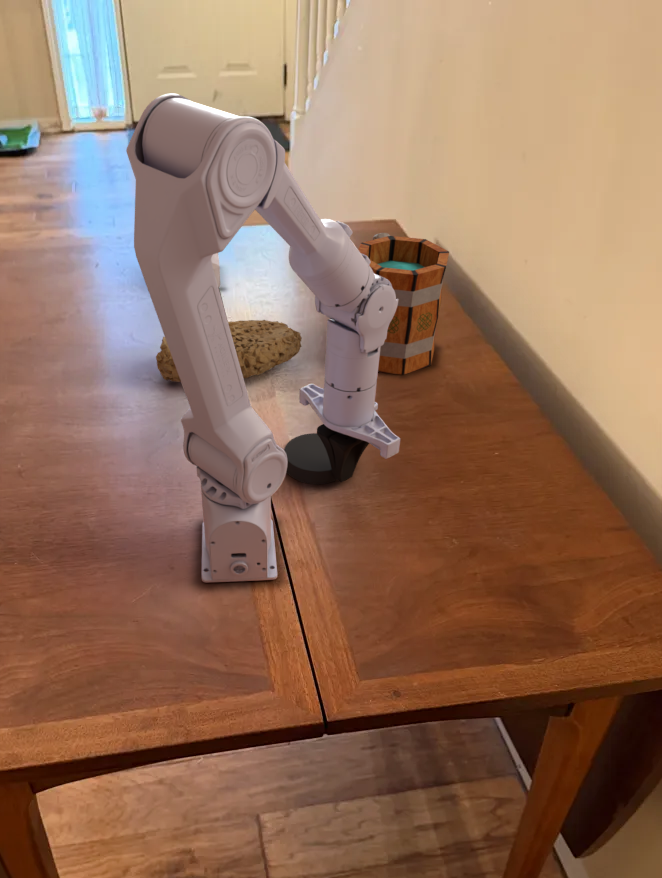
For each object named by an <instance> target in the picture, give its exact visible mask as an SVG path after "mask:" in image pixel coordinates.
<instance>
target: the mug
mask: <svg viewBox="0 0 662 878" xmlns="http://www.w3.org/2000/svg"><path fill="white" fill-rule="evenodd" d="M357 249H358V250H359V252H360V253H361V254H364V255H366V256H367V257H368V258H369V259H370V261H371V263H370V265H369V266H370V267H371V269H372V270H373V273H374V274H376V275H379V276H381V277H384V278H386V279H388V280H389V281H390V283H391V285H392V288H393V289H394V291H395V295H396V299H398V305H397V309H396V312H395V314H394V316H393V318H392V320H391V322H390V324H389V327H388V330H387V338H386V339H385V341H384V344H383V345H382V346H381V347H380V357H379V366H378V372H379V373H387V374H393V375H401V376H404V375H407V374H410V373H413V372H416V371H419V370H421V369H425V368H428V367H431V366H432V363H433V358H434V352H435V340H436V339H435V337H436V336H435V335H436V329H437V324H438V320H439V316H440V311H441V304H442V298H443V297H442V296H443V282H444V276H445V272H446V269H447V265H448V260H449V255H450V251H449V250H447V249H445V248H443V247H442V246H439V245H438V244H436V243H434V242H432V241H430V240H428V239H426V238H417V237H407V236H397V235H390V234H389V233H388V232H380V233H376V234H374V235H373V237H372V239H371V240H367V241H363V242H360V244H359V247H358V248H357Z"/></svg>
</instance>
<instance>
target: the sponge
mask: <svg viewBox="0 0 662 878" xmlns="http://www.w3.org/2000/svg"><path fill="white" fill-rule="evenodd" d="M228 324H229V328H230V332H231V335H232V339H233V342H234V346H235V350H236V353H237V357H238V361H239V364H240V368H241V372H242V375H243V379H249V378H250V377H252V376H259V375H262V374H264V373H265V372H267V371H270V370H272V369H274V368H275V367H276V366H279V365H281V364H283V363H287V362H289V361H291V359H293V358H294V357H295V356H296V355H297V354H299V352H300V350H301V348H302V347H303V346H302V339H303V337H302V336H301V332H299V331H296V330H295V329H293V328H291V327H289V326H288V324H286V323H284V322H282V321H281V322H279V321H277V320H276V321H273V320H272V321H271V320H266V319H262V320H260V319H259V320H258V319H256V320H255V319H251V320H237V321H236V320H235V321H232V320H231V321H228ZM159 349H160V351H159V352H157V354H156V356H155V359H156V368H157V370H158V371H159V373H160V375H161V377H162V378H163V379H164V380H165V381H170V382H176V383H177V382H178V383H181V380H180V377H179V375H178V372H177V369H176V366H175V364H174V361H173V358H172V355H171V352H170V350H169V347H168V344H167V341H166V338H165V336H162V339H161V344H160V346H159Z"/></svg>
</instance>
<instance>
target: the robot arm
mask: <svg viewBox="0 0 662 878" xmlns="http://www.w3.org/2000/svg"><path fill="white" fill-rule="evenodd" d="M125 151H126V155H127V158H128V161H129V164H130V167H131V170H132V173H133V176H134V179H135V189H134V190H135V194H134V195H135V196H134V197H135V198H134V227H133V248H134V253H135V258H136V260H137V262H138V266H139V268H140V269H139V270H140V271H141V274H142V277H143V280H144V283H145V285H146V288H147V291H148V294H149V296H150V297H149V298H150V299H151V302H152V305H153V308H154V311H155V313H156V316H157V319H158V322H159V324H160V327H161V331H162V333H163V337H165V338H166V341H167V344H168V347H169V350H170V352H171V355H172V358H173V361H174V364H175V366H176V369H177V372H178V375H179V377H180V380H181V382H180V383H181V386H182V389H183V391H184V394H185V397H186V400H187V403H188V405H189V408H188V409H187V410H186V411H185V413H184V414H183V416H182V417H181V419H180V423H181V425H182V429H183V434H184V435H183V442H182V450H183V454H184V457H185V458H186V461H188V462H189V463H190V464H191V465H194V466H196V467H195V468H196V477H198V478H199V481H200V490H201V491H200V493H201V503H202V504H201V505H202V516H203V517H202V518H203V522H202V523H201V582H203V583H226V582H228V583H229V582H231V583H232V582H251V581H252V582H253V581H273V580H276V579H278V565H277V564H278V563H277V554H276V543H275V541H276V540H275V533H274V521H273V519H272V496H273V495H274V494H275V493H276V492H277V491H278V490H279V488H280V487H281V486H282V484H283V482H284V480H285V478H286V475H287V472H286V471H287V464H288V460H287V455H286V453H285V451H284V448H282V447H281V446H280V445H278V444H277V442H276V440H275V437H274V434H273V431H272V430H271V429H270V428H269V426H268V425H267V424H266V422H264V420H263V419H262V417H261V416H260V415H259V414H258V413H257V412H256V410H255V409H254V408H253V406H252V405H251V401H250V398H249V393H248V389H247V386H246V383H245V378H243V375H242V372H241V368H240V364H239V361H238V357H237V353H236V350H235V346H234V342H233V339H232V335H231V332H230V328H229V324H228V322H229V320H228V317H227V313H226V310H225V306H224V303H223V299H222V296H221V292H220V291H221V290H220V287H218V284H217V281H216V277H215V273H214V270H213V266H212V262H211V258H212V255H213V254H216V253H218V254H219V253H223V251H224V250H225V249H226V248H227V246H228V245H229V244H230V242H231V241H232V240H233V239H234V237H235V236H236V235H237V234H238V232H239V231H240V229H241V228H242V227H243V226H244V224H245V223H246V222H247V221H248V219H249V218H250V216H251V215H252V214H253V213H254V211H255V212H257V214H258V215H259V216H260V217H261V218H262V219H263V220H264V221H265V222H266V223H267V224H268V225H269V226H270V227H271V229H273V230H274V231H275V232H276V234H277V235H278V236H279V237H281V239H283V241H284V242H286V244H287V245H288V246H289V249H288V263H289V266H290V269H292V271H293V272H294V273H295V274H296V275H297V276H298V278H299V279H300V280H301V281H302V282H303V283H304V284H305V286H306V287H307V288H308V289H309V290H310V292H312V293H313V295H314V305H315V309H316V311H317V312H318V313H321V314H322V315H323V316H325V317H326V318H327V320H326V321H327V323H326V339H325V341H326V343H325V361H324V376H323V377H324V378H323V387H320V386H318V385H316V384H314V383H309V384H307V385H305V386H302V387H300V388H299V399H298V400H299V401H298V402H299V404H301V405H302V406H305V407H306V406H308V405H309V406H311V408H312V409H313V411H314V413H315V414H316V415H317V417H318V418H319V419H320V422H321V423H322V424H320V425H318V426H317V428H316V433H317V435H318V436H319V437H320V439H321V441H322V442H323V444H324V446H325V449H326V451H327V454H328V457H329V461H330V465H331V469H332V473H333V477H334V478H335V479H336V481H337V482H339V483H343V482H344V481H347V480H349V479H350V478H353V475H354V473H355V470H356V467H357V465H358V463H359V461H360V458H361V456H362V455H363V453H364V452H365V450H366V449H367V448H368V446H369V445H370V446H373V447H374V448H376V449H377V450H379V455H380V456H381V457H382V458H384V459H385V460H387V459H389V458H391V457H393V456H395V455H397V454H399V453H400V445H401V438H400V437H399V436H398V435H396V434H395V433H394V432H393V431H392V430H391V429H390V427H388V425H387V424H386V423H385V421H384V420H383V419H382V418H381V417H380V415H379V414H378V412H377V410H378V408H379V403H378V402H377V401H376V395H377V393H376V392H377V383H378V375H379V373H378V366H379V357H380V347H381V346H382V345H383V344H384V341H385V339H386V338H387V330H388V327H389V324H390V322H391V320H392V318H393V316H394V314H395V312H396V309H397V305H398V299H396V295H395V291H394V289H393V288H392V285H391V283H390V281H389V280H388V279H386V278H384V277H381V276H379V275H376V274H374V273H373V270H372V269H371V267H370V266H369V265H370V263H371V261H370V259H369V258H368V257H367V256H366V255H364V254H361V253H360V252H359V250H358V249H359V248H357V246H356V245H355V243H354V242H353V241H352V239H351V236H352V235H353V233H354V232H353V230H352V229H351V227H350V226H349V224H347V223H345V222H342V221H339V220H333V219H330V218H320V216H319V215H318V213H317V212H316V209H315V208H314V207H313V205H312V203H311V202H310V201H309V199H308V198H307V195H306V194H305V192H304V191H303V190H302V188H301V186H300V184H299V182H298V181H297V179H296V178H295V176H294V175H293V173H292V172H291V170H290V168H289V167H288V165H287V164H286V149H285V148H284V147H283V146H282V145H281V144H280V143H279V141H277V140H276V139H274V137H273V135H272V133H271V131H270V129H269V128H268V127H267V126H266V125H265V124H264V123H263V121H261V120H259V119H257V118H256V117H252V116H242V115H241V116H239V115H236V114H234V113H230V112H227V111H223V110H221V109H217V108H214V107H211V106H207V105H205V104H202V103H199V102H195V101H192V99H189V98H188V97H185V96H183V95H181V94H178V93H165V94H161V95H160V96H157V97H156V98H154V99H153V100H151V102H149V104H148V105H147V106H146V107H145V109H144V110H143V111H142V113H141V115H140V117H139V119H138V122H137V125H136V127H135V128H134V131H133V133H132V135H131V138H130V140H129V142H128V145H127V147H126V150H125Z"/></svg>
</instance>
